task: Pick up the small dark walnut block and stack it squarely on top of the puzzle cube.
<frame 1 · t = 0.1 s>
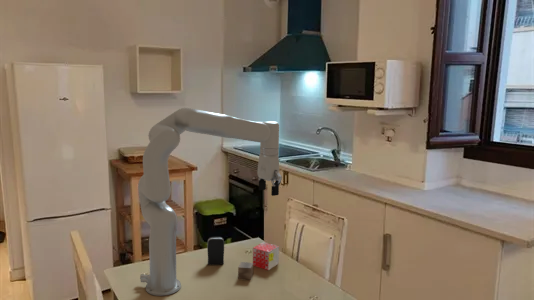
hand: (268, 192, 176), 31 cm above the table, tool pointing down, fingers open, 9 cm apart
puzzle cube: (265, 265, 180), on the table
walnut block: (245, 277, 168), on the table
battery charger: (215, 263, 180), on the table
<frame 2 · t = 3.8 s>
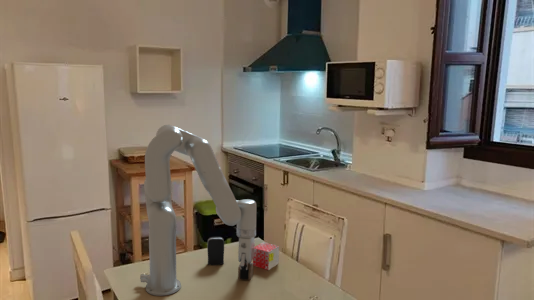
hand: (245, 275, 168), 1 cm above the table, tool pointing down, fingers closed on walnut block, 5 cm apart
walnut block: (245, 276, 168), on the table, touching gripper
everything else where it was.
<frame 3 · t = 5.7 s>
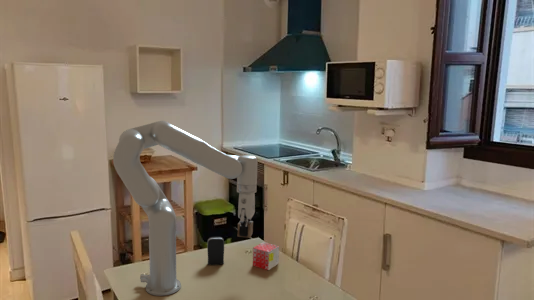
hand: (245, 233, 165), 18 cm above the table, tool pointing down, fingers closed on walnut block, 5 cm apart
walnut block: (245, 234, 165), point 17 cm above the table, touching gripper
everything else where it was.
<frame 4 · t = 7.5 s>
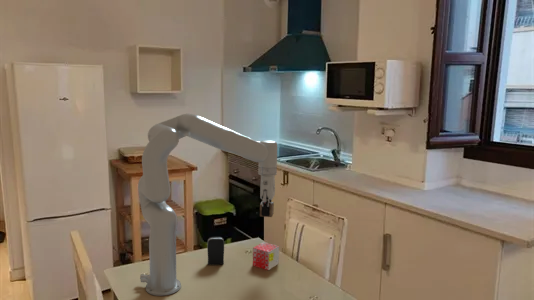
hand: (266, 213, 176), 22 cm above the table, tool pointing down, fingers closed on walnut block, 5 cm apart
walnut block: (266, 214, 176), point 22 cm above the table, touching gripper
everything else where it was.
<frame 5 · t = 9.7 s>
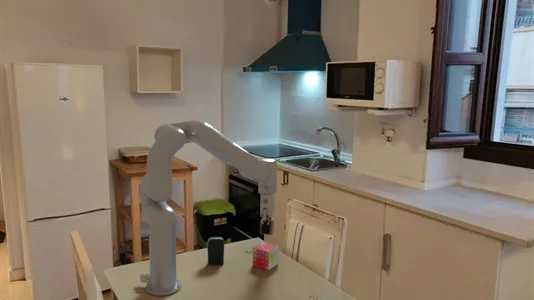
hand: (266, 230, 177), 15 cm above the table, tool pointing down, fingers closed on walnut block, 5 cm apart
walnut block: (266, 232, 177), point 14 cm above the table, touching gripper
everything else where it was.
when the fingers open (9 cm above the table, at t = 11.4 s): walnut block stays where it is, resting on puzzle cube.
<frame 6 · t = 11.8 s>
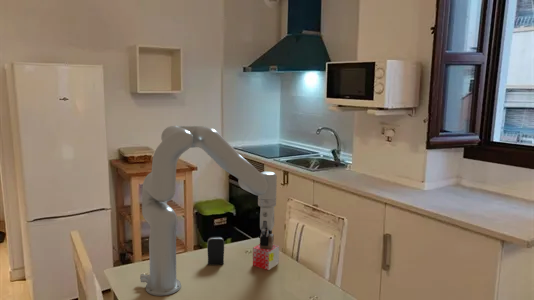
hand: (266, 241, 178), 10 cm above the table, tool pointing down, fingers open, 9 cm apart
puzzle cube: (265, 265, 180), on the table, touching walnut block
walnut block: (266, 246, 178), point 8 cm above the table, touching puzzle cube
everything else where it was.
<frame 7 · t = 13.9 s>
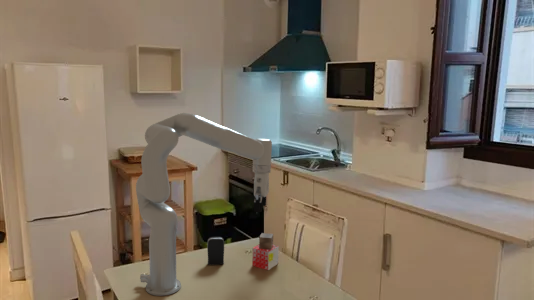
hand: (260, 208, 178), 24 cm above the table, tool pointing down, fingers open, 9 cm apart
nothing on the table moved.
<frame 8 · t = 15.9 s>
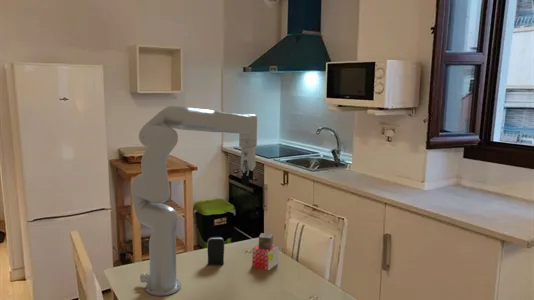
hand: (247, 182, 184), 33 cm above the table, tool pointing down, fingers open, 9 cm apart
nothing on the table moved.
at the end: walnut block 0.0 cm off-centre on the puzzle cube, point 8.1 cm above the puzzle cube's base; walnut block tilted 0°; the gripper is holding nothing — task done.
